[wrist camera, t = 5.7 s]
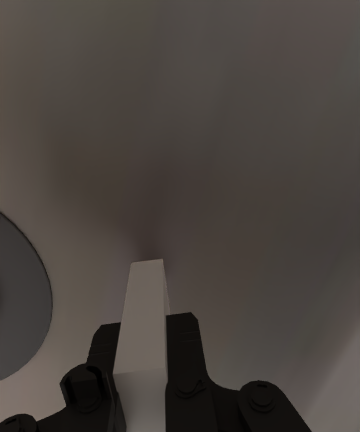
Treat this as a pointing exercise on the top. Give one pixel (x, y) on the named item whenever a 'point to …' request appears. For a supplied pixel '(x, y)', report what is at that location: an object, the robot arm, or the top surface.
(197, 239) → the top surface
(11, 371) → the disc
